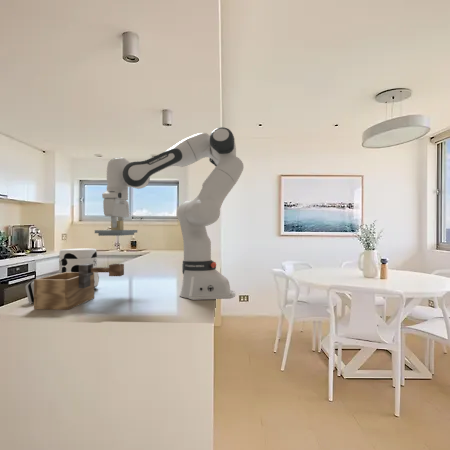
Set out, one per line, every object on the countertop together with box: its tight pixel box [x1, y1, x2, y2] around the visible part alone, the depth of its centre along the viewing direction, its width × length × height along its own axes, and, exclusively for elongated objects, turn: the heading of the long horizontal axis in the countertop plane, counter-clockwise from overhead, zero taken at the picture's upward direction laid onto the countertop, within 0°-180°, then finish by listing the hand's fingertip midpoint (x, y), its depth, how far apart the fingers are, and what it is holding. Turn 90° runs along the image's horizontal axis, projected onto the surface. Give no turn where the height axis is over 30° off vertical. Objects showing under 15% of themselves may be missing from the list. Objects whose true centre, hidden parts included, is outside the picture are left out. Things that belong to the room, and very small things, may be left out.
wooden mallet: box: [91, 263, 125, 277], centre depth 129 cm, size 11×4×4 cm, turn 86°
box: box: [33, 264, 95, 311], centre depth 130 cm, size 15×20×14 cm
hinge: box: [24, 275, 48, 305], centre depth 137 cm, size 17×5×10 cm, turn 175°
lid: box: [94, 220, 138, 237], centre depth 153 cm, size 11×19×6 cm, turn 176°
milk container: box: [57, 247, 100, 289], centre depth 157 cm, size 17×17×18 cm
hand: (117, 227), depth 153 cm, fingers closed on lid, 4 cm apart
